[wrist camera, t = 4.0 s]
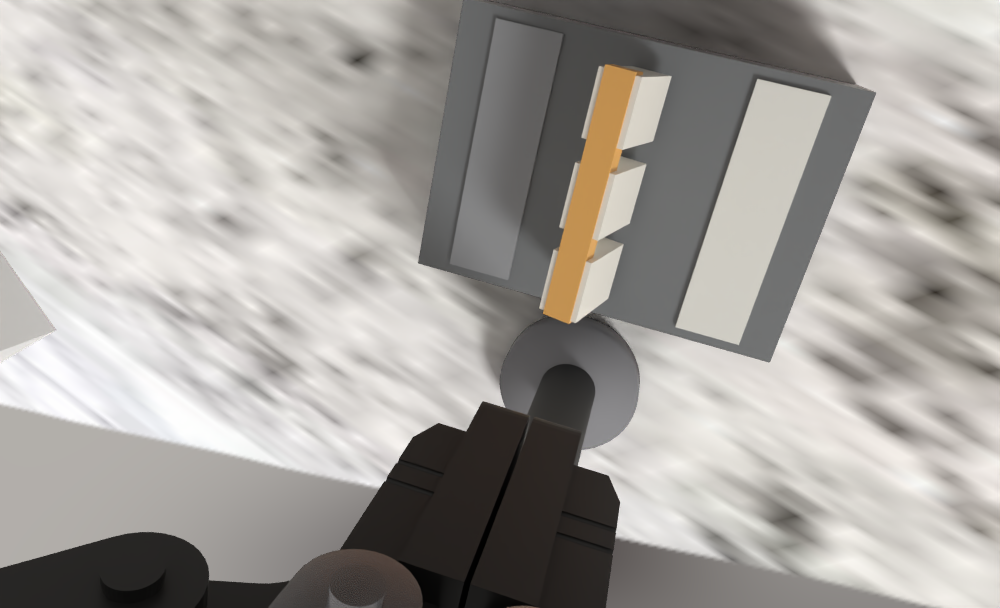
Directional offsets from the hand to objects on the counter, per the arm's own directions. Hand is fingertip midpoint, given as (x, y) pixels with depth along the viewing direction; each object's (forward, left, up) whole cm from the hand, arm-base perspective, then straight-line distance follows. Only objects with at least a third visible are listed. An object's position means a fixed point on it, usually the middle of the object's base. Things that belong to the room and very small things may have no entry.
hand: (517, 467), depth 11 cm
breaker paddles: (0, 0, -18) cm, 18 cm away
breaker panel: (0, 0, -21) cm, 21 cm away
